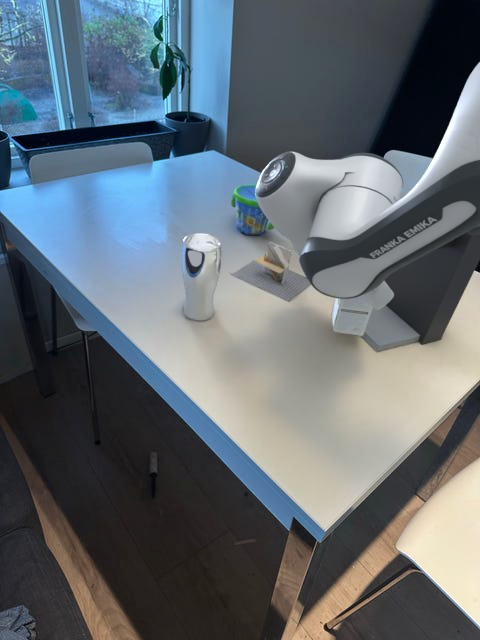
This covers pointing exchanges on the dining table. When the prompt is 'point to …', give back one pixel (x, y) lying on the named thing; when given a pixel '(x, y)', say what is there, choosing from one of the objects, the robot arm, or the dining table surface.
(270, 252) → the architectural model
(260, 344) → the dining table surface
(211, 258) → the beer glass
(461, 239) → the coffee maker
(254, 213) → the snack cup
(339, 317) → the syrup box
